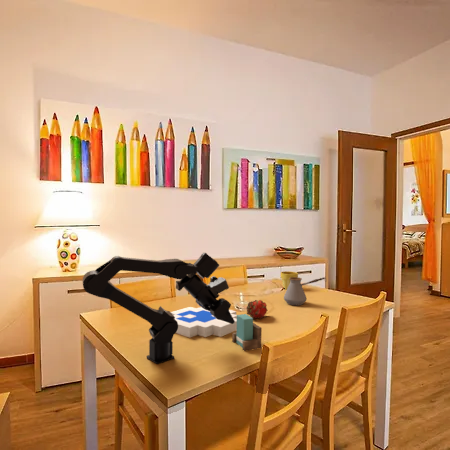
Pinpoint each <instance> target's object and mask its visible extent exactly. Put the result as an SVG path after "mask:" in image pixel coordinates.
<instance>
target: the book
mask: <svg viewBox="0 0 450 450" xmlns="http://www.w3.org/2000/svg"><path fill="white" fill-rule="evenodd" d="M236 315H237V330H236V332H237V336H236V342H235V343H236V344H237V345H238V346H239V345H240V346H239V347H240V348H242V349H243V341H246V340H252V339H253V323H254V319H253V318H252V317H250V315H248V314H247V313H244V314H243V313H242V314H236Z"/></svg>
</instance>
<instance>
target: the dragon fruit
mask: <svg viewBox="0 0 450 450" xmlns="http://www.w3.org/2000/svg"><path fill="white" fill-rule="evenodd" d="M268 310H269V309H268V308H267V303H266V302H264V301H263V300H262V299H259V300H257V299H255V300H253V301H249V302H248V303H247V306H246V315H248V316H250V317H252V318H253V320H255V319H257V318H258V319H261V320H262V319H263V318H265V315H266V314H267V312H268Z"/></svg>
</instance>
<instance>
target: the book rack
mask: <svg viewBox="0 0 450 450" xmlns="http://www.w3.org/2000/svg"><path fill="white" fill-rule="evenodd" d="M231 333H232V335H231V336H232V337H231V339H232V340H231V341H232V342H233V343H236V336H237V331H235V332H231ZM257 348H260V349H262V327H261V326H260V325H258V324H256V323H254V322H253V339H252V340H246V341H243V348H242V351H243V350H244V352H247V351H246V350H248V351H253V350H252V349H254V350H258V349H257Z"/></svg>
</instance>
